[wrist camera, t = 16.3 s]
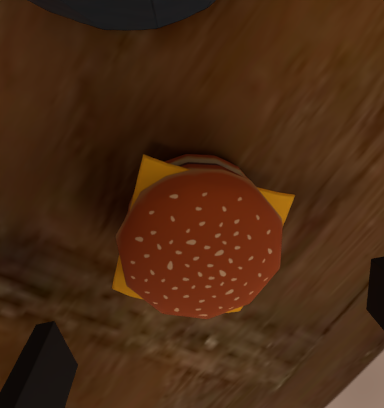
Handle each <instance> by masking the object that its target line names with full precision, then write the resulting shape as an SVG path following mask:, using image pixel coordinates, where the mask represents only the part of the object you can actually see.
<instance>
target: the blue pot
mask: <svg viewBox="0 0 384 408" xmlns="http://www.w3.org/2000/svg"><path fill="white" fill-rule="evenodd" d="M28 1H30V2H32V3H34V4H36V5H38V6H40V7H42V8H44V9H45V10H47V11H49V12H52V13H55V14H58V15H61V16H64V17H67V18H70V19H73V20H75V21H78V22H81V23H84V24H88V25H91V26H94V27H97V28H100V29H104V30H145V29H157V28H160V27H162V26H166V25H168V24H171V23H174V22H177V21H180V20H182V19H185V18H187V17H189V16H191V15H193V14H195V13H197V12H199V11H201V10H204V9H206V7H207V8H208V7H209V6H210V5H211V4H212V3H213V2H215V1H216V0H28Z"/></svg>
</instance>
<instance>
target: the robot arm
mask: <svg viewBox="0 0 384 408" xmlns="http://www.w3.org/2000/svg"><path fill="white" fill-rule="evenodd" d="M366 309H367V311H368V312H369V313H370V314H371V315H372V317H373V318H374V319H375V320H376V321H377V323H378V324H379V325H380V326H381V327H382V329H383V330H384V257H379V258H374V259H371V267H370V277H369V288H368V298H367V308H366ZM77 367H78V364H77V362H76V360H75V359H74V357H73V355H72V353H71V351H70V349H69V347H68V346H67V344H66V342H65V340H64V338H63V336H62V334H61V333H60V331H59V329H58V327H57V325H56V323H55V321H52V322H47V323H42V324H37V325H36V326H35V328H34V330H33V332H32V333H31V335H30V337H29V339H28V341H27V343H26V345H25V347H24V348H23V350H22V352H21V354H20V356H19V358H18V360H17V362H16V364H15V365H14V367H13V369H12V371H11V373H10V375H9V377H8V379H7V380H6V382H5V384H4V386H3V388H2V390H1V392H0V408H65V405H66V401H67V398H68V395H69V392H70V389H71V386H72V382H73V379H74V376H75V373H76V370H77Z"/></svg>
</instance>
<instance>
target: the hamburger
mask: <svg viewBox="0 0 384 408" xmlns="http://www.w3.org/2000/svg"><path fill="white" fill-rule="evenodd" d="M294 197H295V195H294V194H286V193H280V192H275V191H271V190H267V189H263V188H259V187H256V186H255V185H254V184H253V182H252V181H251V180H249V179H248V178H247V177H246V176H245V174H244V173H243V172H242V171H241V169H240V168H239V167H238V166H236V165H234V164H232V163H229V162H227V161H225V160H223V159H221V158H219V157H217V156H215V155H199V154H184V155H181V156H178V157H175V158H173V159H170V160H167V161H164V162H163V161H160V160H158V159H155V158H152V157H149V156H147V155H144V154H143V157H142V161H141V165H140V169H139V174H138V178H137V182H136V186H135V190H134V194H133V196H132V198H131V200H130V203H129V206H128V213H127V215H126V217H125V219H124V222H123V223H122V225H121V227H120V229H119V230H118V232H117V234H116V236H115V237H116V242H117V246H118V251H119V258H118V262H117V267H116V271H115V275H114V280H113V284H112V289H114V290H116V291H118V292H121V293H124V294H126V295H128V296H131V297H136V298H140V299H144V300H145V301H147V302H148V303H149V304H151V305H152V306H153V307H155V308H156V309H157V310H158V311H160V312H161V313H163V314H169V315H177V316H186V317H194V318H203V319H209V318H212V317H215V316H217V315H220V314H223V313H227V312H237V311H240V310H241V309H242V307H243V306H244V305H247V304H250V303H251V301H252V300H253V299H254V298H255V297H256V296H257V294H258V293H259V292H260V291H261V290H262V289H263V287H264V286H265V285H266V284H267V283H268V282H269V280H270V279H271V278H272V277H273V276H274V275H275V273H276V272H277V271H278V270H279V269H280V260H281V244H282V228H283V225H284V222H285V220H286V217H287V214H288V212H289V209H290V207H291V204H292V202H293V199H294Z"/></svg>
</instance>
